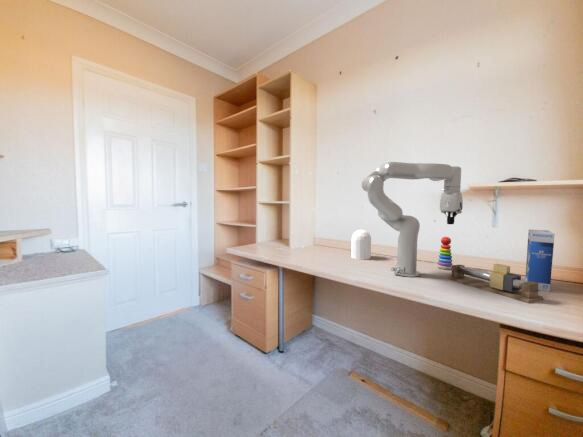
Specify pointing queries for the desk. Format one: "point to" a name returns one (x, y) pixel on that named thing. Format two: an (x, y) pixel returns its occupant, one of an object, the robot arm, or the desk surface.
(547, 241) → the string lights box
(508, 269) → the sleeve
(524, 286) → the stand
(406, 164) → the robot arm
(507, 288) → the grey square collar
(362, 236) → the container
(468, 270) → the pipe
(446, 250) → the stacking toy
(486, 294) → the desk surface
